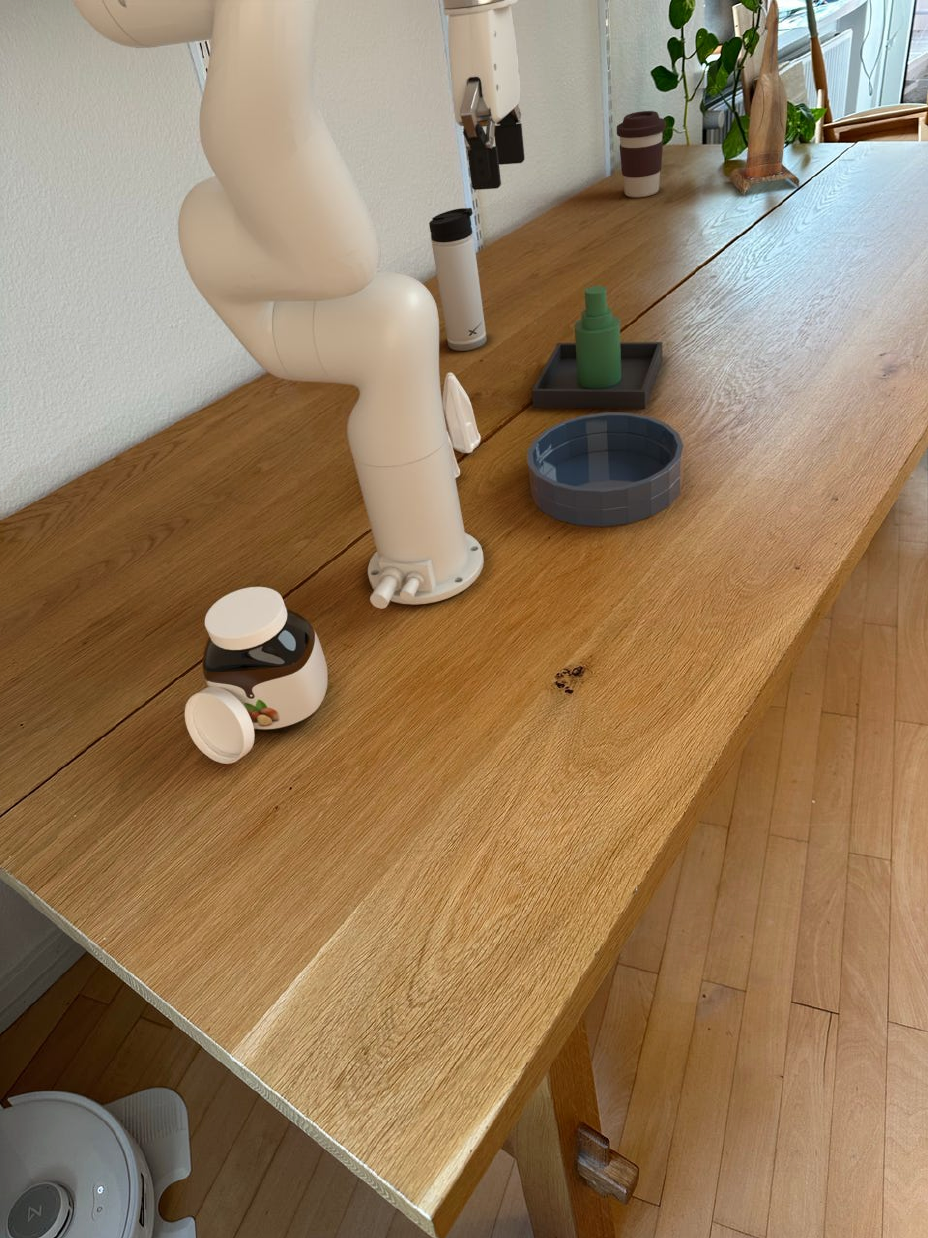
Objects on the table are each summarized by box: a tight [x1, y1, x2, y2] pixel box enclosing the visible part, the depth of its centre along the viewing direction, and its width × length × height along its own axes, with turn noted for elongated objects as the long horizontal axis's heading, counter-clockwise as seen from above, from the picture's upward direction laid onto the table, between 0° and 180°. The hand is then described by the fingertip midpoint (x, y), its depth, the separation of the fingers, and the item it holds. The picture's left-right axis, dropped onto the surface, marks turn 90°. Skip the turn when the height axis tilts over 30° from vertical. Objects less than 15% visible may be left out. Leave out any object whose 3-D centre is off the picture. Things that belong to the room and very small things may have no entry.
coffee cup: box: [616, 110, 667, 199], centre depth 183 cm, size 10×10×15 cm
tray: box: [531, 341, 663, 410], centre depth 121 cm, size 15×15×3 cm
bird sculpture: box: [729, 0, 800, 196], centre depth 169 cm, size 11×12×32 cm
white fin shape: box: [442, 372, 482, 479], centre depth 107 cm, size 12×4×11 cm, turn 156°
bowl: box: [526, 411, 685, 528], centre depth 100 cm, size 17×17×5 cm
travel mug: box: [428, 207, 487, 352], centre depth 133 cm, size 6×7×20 cm
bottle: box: [574, 285, 621, 389], centre depth 117 cm, size 6×6×12 cm
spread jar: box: [184, 586, 329, 765], centre depth 76 cm, size 12×11×12 cm
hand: (499, 175), depth 98 cm, fingers open, 9 cm apart
